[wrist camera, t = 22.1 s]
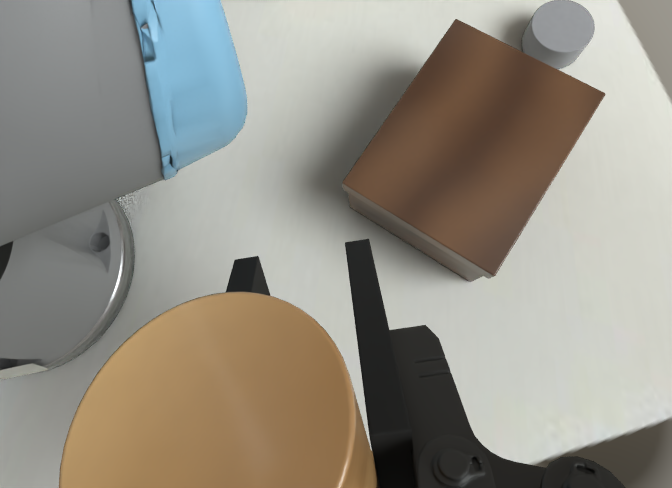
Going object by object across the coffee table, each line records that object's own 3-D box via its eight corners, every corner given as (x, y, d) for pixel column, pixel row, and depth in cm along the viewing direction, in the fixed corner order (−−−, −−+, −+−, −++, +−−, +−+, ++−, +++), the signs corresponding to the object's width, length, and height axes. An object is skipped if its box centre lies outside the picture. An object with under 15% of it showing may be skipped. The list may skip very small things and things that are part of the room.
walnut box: (343, 206, 30) (338, 181, 25) (439, 66, 32) (453, 16, 27) (471, 286, 28) (495, 276, 23) (565, 133, 30) (606, 93, 25)
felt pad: (570, -11, 30) (557, 10, 32) (519, 17, 30) (509, 36, 32) (607, 33, 29) (592, 52, 31) (555, 62, 29) (543, 79, 31)
